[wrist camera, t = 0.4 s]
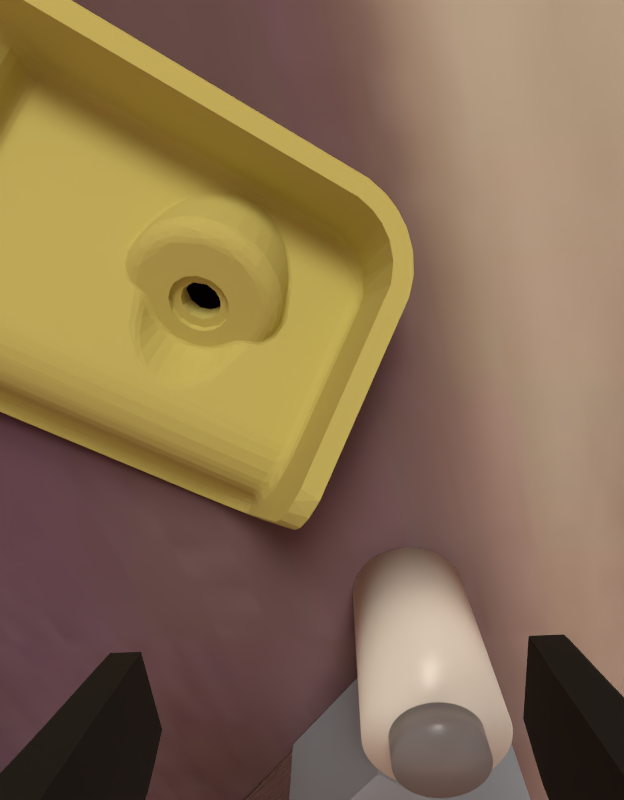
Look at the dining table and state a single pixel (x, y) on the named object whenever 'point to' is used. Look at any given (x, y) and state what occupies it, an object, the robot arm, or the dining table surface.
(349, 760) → the block
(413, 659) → the cream capped bottle
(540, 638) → the robot arm
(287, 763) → the beige tray
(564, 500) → the dining table surface
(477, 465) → the dining table surface
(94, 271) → the plastic component
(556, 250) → the dining table surface
